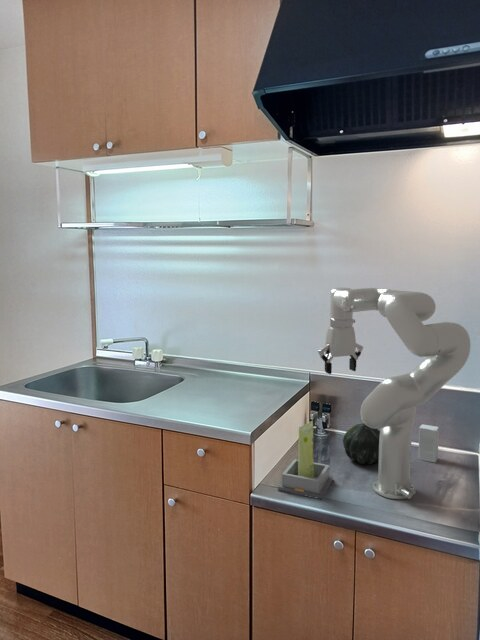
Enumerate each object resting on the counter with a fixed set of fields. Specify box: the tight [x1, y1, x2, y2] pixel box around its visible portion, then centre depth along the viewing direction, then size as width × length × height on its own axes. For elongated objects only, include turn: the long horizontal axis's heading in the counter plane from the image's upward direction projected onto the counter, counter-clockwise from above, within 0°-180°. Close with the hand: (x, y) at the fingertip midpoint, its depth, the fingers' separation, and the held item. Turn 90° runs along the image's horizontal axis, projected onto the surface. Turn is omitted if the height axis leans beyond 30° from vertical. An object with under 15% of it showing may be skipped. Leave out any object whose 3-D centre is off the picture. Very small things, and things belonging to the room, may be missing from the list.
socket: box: [277, 458, 334, 499], centre depth 160 cm, size 14×14×5 cm
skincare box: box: [417, 424, 440, 463], centre depth 177 cm, size 6×4×12 cm
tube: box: [297, 420, 315, 479], centre depth 159 cm, size 6×5×20 cm
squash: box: [342, 422, 380, 465], centre depth 177 cm, size 14×15×15 cm
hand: (340, 371), depth 174 cm, fingers open, 9 cm apart
